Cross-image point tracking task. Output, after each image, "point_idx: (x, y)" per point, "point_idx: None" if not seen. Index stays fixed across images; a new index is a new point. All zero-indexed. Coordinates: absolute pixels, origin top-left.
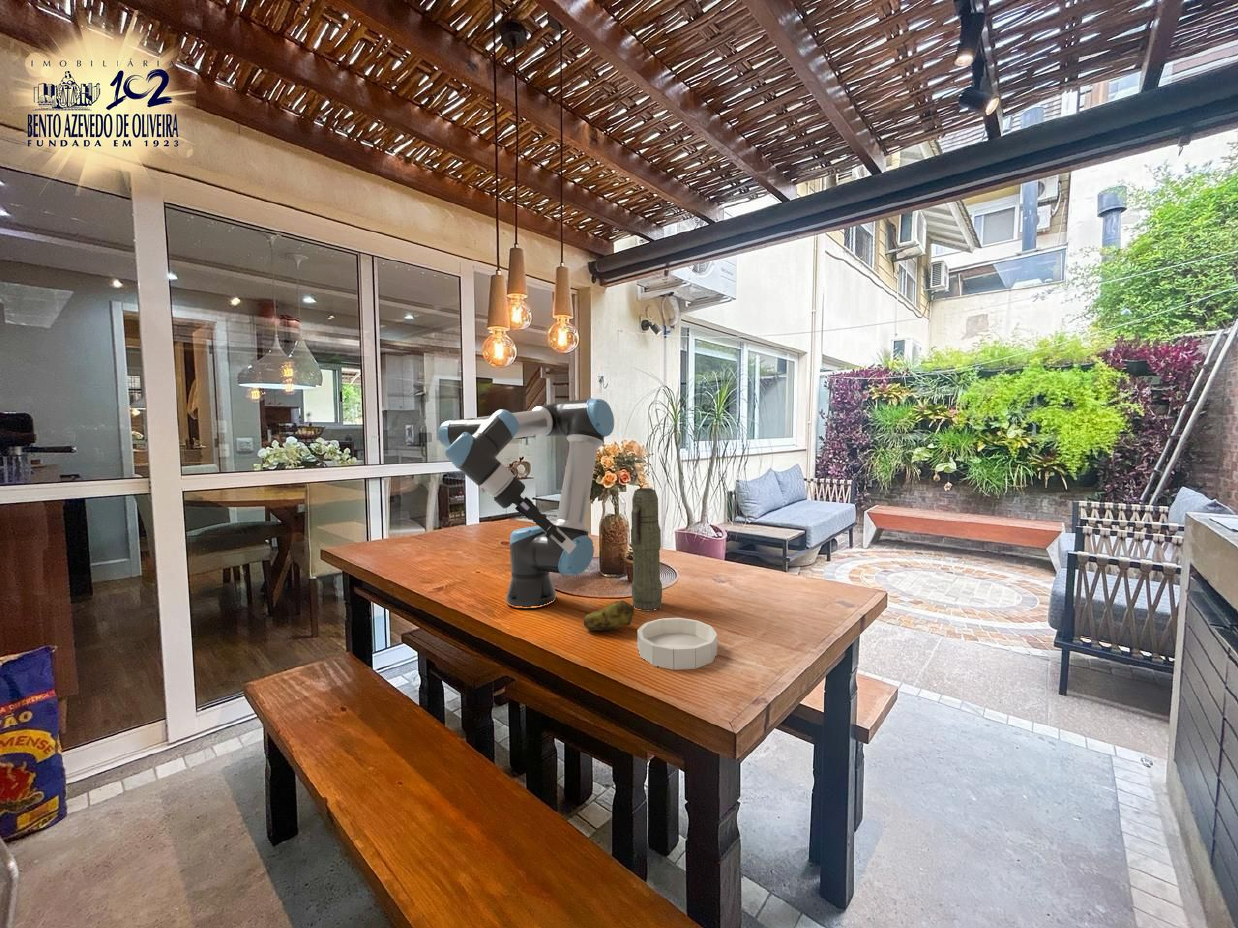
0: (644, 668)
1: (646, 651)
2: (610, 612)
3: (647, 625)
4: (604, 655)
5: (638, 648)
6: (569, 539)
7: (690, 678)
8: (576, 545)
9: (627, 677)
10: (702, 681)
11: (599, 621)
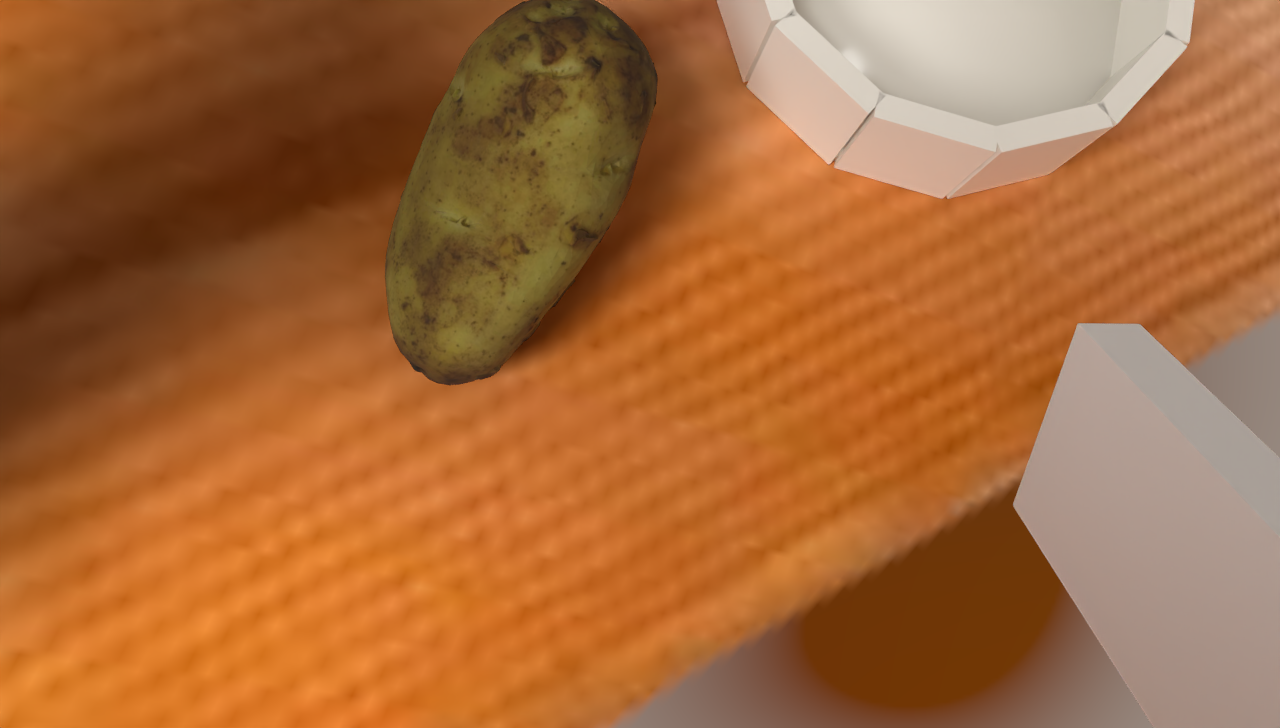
0: (1065, 226)
1: (1028, 162)
2: (610, 185)
3: (808, 26)
4: (855, 374)
5: (884, 171)
6: (1261, 463)
7: (1211, 71)
8: (1139, 333)
9: None
10: (1247, 38)
11: (569, 284)
